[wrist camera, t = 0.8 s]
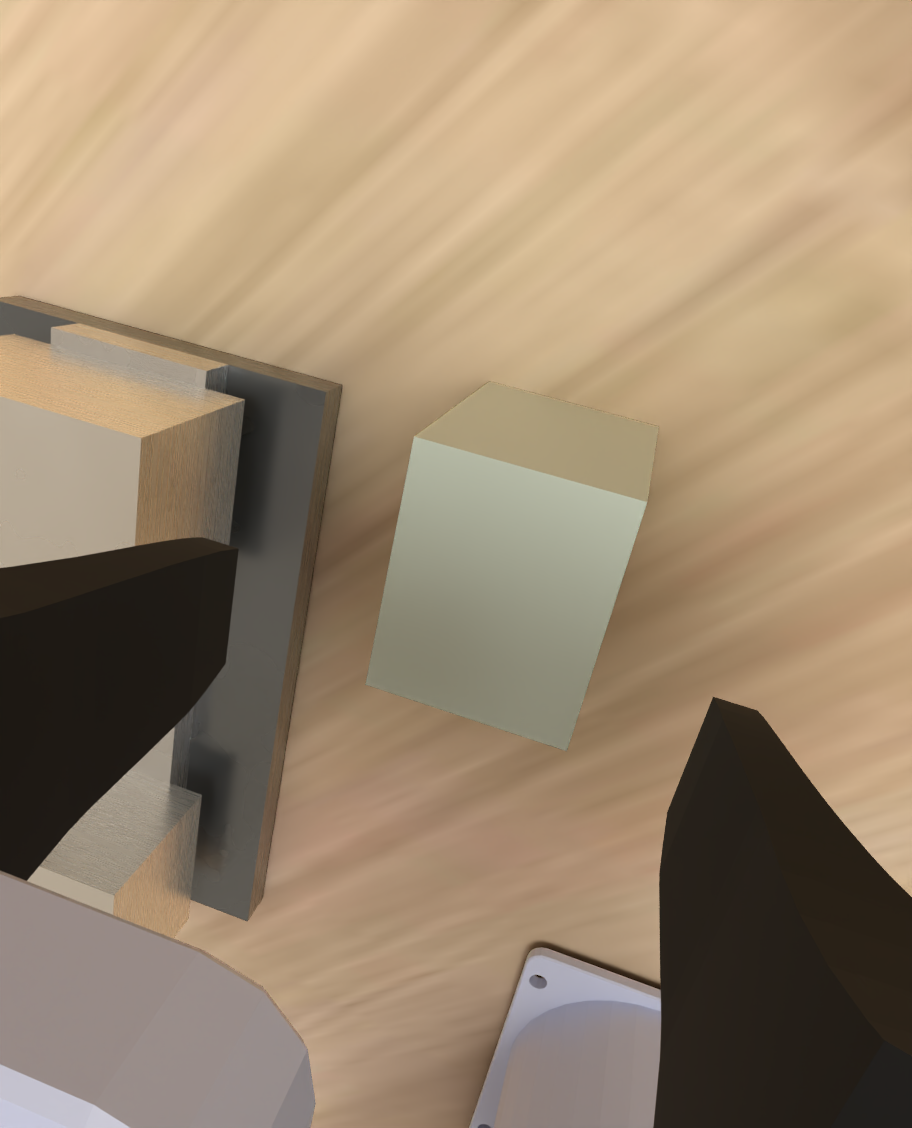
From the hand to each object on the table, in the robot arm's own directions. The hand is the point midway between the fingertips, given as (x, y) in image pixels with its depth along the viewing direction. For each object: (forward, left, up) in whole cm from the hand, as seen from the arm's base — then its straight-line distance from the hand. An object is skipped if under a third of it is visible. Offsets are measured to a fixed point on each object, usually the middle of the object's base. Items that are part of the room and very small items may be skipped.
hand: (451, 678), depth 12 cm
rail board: (-7, +10, -9) cm, 15 cm away
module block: (0, 0, -9) cm, 9 cm away
